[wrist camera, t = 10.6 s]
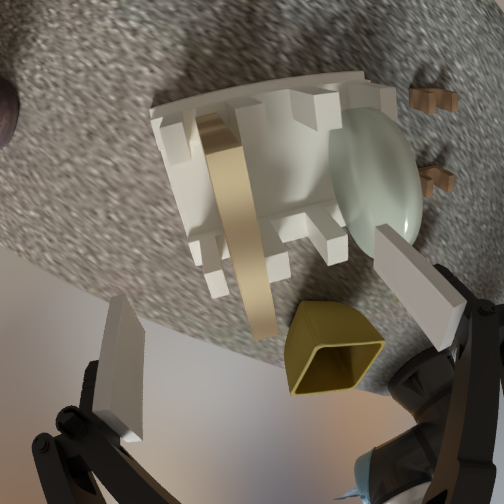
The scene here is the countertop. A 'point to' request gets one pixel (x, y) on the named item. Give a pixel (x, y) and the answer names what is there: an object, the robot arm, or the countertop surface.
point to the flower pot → (329, 348)
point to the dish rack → (267, 163)
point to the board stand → (427, 103)
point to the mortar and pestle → (7, 112)
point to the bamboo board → (238, 221)
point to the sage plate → (374, 177)
